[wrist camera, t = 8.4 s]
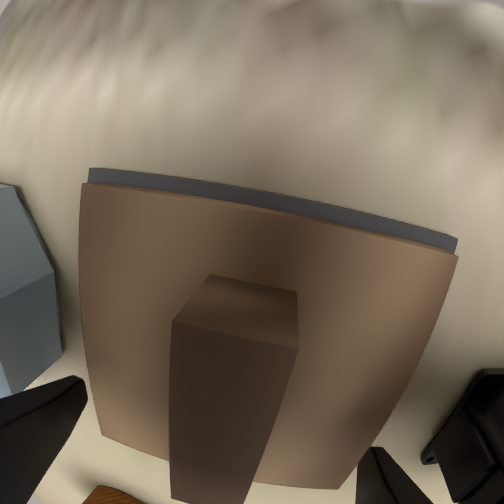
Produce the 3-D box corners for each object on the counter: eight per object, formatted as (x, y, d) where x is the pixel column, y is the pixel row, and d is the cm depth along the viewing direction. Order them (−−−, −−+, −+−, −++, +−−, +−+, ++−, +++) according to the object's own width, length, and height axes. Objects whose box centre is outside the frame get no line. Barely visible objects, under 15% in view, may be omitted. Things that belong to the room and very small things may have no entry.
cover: (444, 249, 8) (516, 290, 5) (336, 474, 11) (340, 537, 8) (98, 182, 9) (14, 191, 5) (110, 423, 12) (74, 473, 9)
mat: (449, 235, 9) (457, 238, 8) (340, 471, 12) (341, 480, 12) (98, 167, 10) (89, 167, 9) (107, 418, 13) (102, 425, 13)
